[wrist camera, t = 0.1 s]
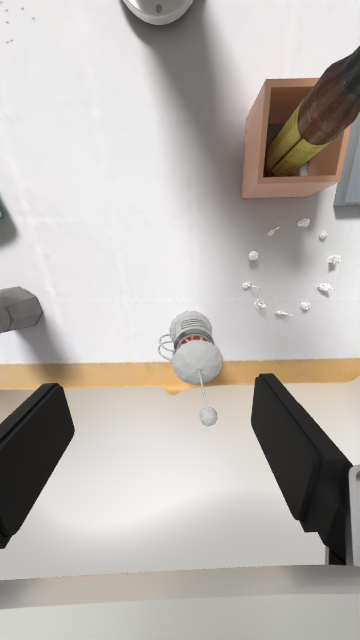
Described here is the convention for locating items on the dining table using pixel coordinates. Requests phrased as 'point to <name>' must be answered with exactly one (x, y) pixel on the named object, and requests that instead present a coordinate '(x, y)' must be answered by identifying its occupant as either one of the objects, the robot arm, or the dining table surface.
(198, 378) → the french press
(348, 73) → the sauce bottle
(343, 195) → the tray
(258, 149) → the open terracotta box
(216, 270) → the dining table surface
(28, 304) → the coffeepot
